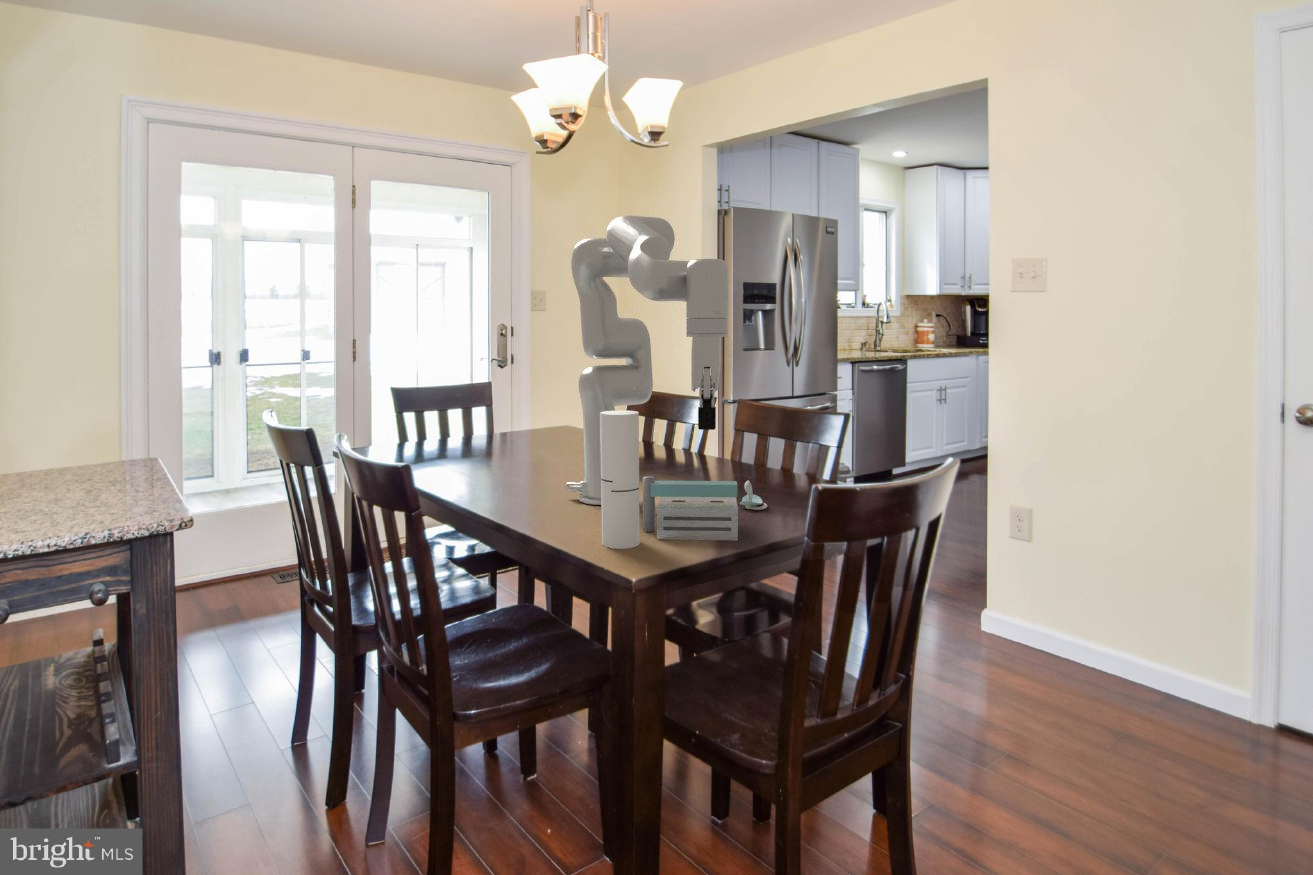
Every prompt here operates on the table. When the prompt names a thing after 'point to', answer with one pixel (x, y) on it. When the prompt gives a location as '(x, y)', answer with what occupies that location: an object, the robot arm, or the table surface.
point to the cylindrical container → (620, 478)
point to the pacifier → (752, 499)
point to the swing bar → (680, 493)
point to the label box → (697, 518)
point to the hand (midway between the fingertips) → (706, 428)
